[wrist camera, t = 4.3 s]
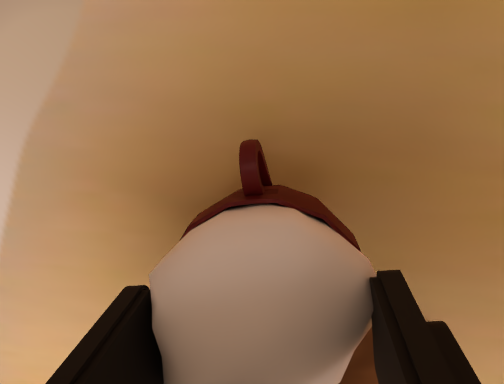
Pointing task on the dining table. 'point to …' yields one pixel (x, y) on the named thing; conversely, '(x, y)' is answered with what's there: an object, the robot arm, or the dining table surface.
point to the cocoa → (261, 289)
